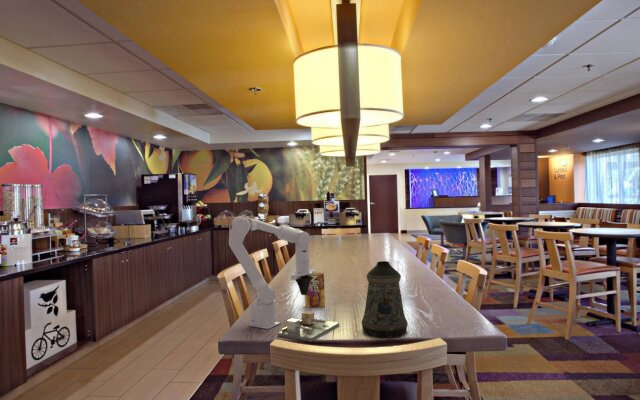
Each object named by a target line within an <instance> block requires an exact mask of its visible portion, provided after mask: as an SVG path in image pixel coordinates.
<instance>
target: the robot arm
mask: <svg viewBox="0 0 640 400" xmlns="http://www.w3.org/2000/svg"><path fill="white" fill-rule="evenodd" d="M228 228H229V235H228V245H229V248H230V250H231V251H232V252H233V254H234V256H235V257H236V259H237V260H238V262H239V264H240V266H241V267H242V269H243V270H244V272H245V274H246V276H247V277H248V278H249V280H250V282H251V283H252V285H253V288H254V289H255V295H256V297H257V300H255V301H254V302H252V303H251V306H250V312H249V313H250V324H249V327H255V328H259V329H265V330H269V329H272V328H273V327H276V326H278V325H280V324H281V322H280V321H277V320H276V300H275V299H276V291H275V290H274V289H273V288H272V287H271V286H270V285H269V284H268V283H267V282H266V280H265V278H264V277H263V275H262V274H261V272H260V271H259V269H258V267H257V266H256V264H255V262H254V261H253V259H252V258H251V256H250V253H248V251H247V249H246V248H245V246H244V243H243V242H244V240H245V237H246V236H247V234H248V233H249V231H250V232H252V231H256V230H259V231H263V232H266V233H270V234H274V235H276V237H277V239H278V240H282V241H286V242H288V243H291V244H295V250H294V251H295V272H294V273H292V274H290V280H291V281H295V282H296V284H297V286H298V289H299V292H300V295H301V296H305V295H307V292H308V287H309V284H310V281H311V279H312V276H309V275H310V274H315V272H316V269H315V268H311V256H310V255H311V253H310V252H311V251H310V250H311V249H310V245H311V243H312V238H311V235H310V234H309V232H307V231H303V230H301V229H300V228H298V227H297V228H294V227H291V226H290V225H289V224H286V223H285V224H281V225H279V226H276V225H273V224H272V223H271V224H270V223H267V222H265V221H261V220H259V219H256V218H249V217H244V216H236V217H234V218H232V220H231V222H230V225H229V227H228Z"/></svg>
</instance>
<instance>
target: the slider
mask: <svg viewBox="0 0 640 400" xmlns="http://www.w3.org/2000/svg"><path fill="white" fill-rule="evenodd" d="M317 319H318V318H315V312H314V311H307V310H306V311H303V312H301V320H302V324H308V325H310V324H312V323H314V321H316V322H322V323H325V322H326V321H327V320H325V321H324V319H319V320H317Z"/></svg>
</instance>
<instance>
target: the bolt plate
mask: <svg viewBox="0 0 640 400" xmlns="http://www.w3.org/2000/svg"><path fill="white" fill-rule="evenodd" d="M316 319H317V320H320V319H318V318H316ZM299 320H300V326H303V327H309V328H312V330H306V329H300V331H298V332H296V333H292V332H287V326H286V327H283V328H281V331H279V332H277V336H278V337H283V338H287V339H291V340H292V339H293V340H296V341H297V340H298V341H302V342H308V343H312V342H314V341H315V340H317V339H319V338H320V337H322V336H324V335H326V334H328V333H330V332H331V331H333V330H334V329H336V328H338V327H340V322H337V321H331V320H324V319H323V320H324V321H326V322H325V323H322V322H316V321H314V323H312V324H310V325H308V324H302V319H299Z"/></svg>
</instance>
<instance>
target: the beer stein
mask: <svg viewBox="0 0 640 400" xmlns="http://www.w3.org/2000/svg"><path fill="white" fill-rule="evenodd" d="M401 278H402V275H401V274H400V272H399V271H397V270H396V269H395V268H394V267H393V266H392V265H391V263H390V261H386V260H382V261H377V262H376V265H375V266H373V267H372V269H371V270H369V271H368V273H367V274H366V280H367V282H368V283H367V284H368V286H367V294H366V299H365V301H366V302H365V307H364V313H363V317H362V319H361V327H362V328H361V329H362V332H363V333H364V335H366V336H368V337H371V338H376V339H385V340H387V339H389V340H390V339H396V338H400V337H403V336H405V335H406V334H407V329H408V324H409V323H408V320H407V318H406V315H405V310H404V305H403V300H402V299H403V298H402V291H401V287H400V281H401Z"/></svg>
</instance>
